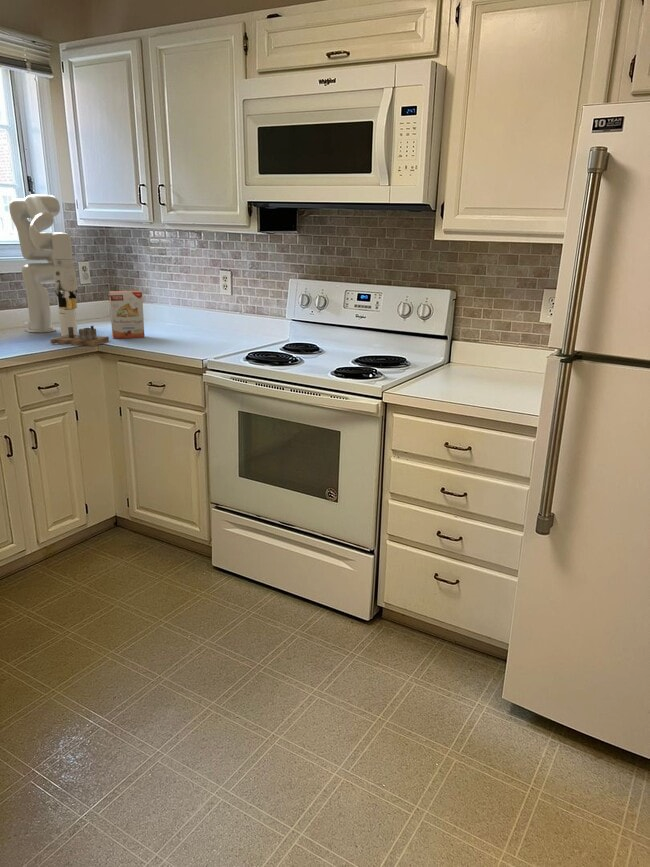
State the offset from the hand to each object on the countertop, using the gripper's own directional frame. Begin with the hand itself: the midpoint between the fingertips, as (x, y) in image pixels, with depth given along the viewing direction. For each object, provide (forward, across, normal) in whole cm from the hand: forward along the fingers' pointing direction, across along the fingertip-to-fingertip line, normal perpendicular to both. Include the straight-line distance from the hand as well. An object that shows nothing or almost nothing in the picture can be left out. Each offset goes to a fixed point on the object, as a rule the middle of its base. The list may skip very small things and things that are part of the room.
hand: (68, 305), depth 277 cm
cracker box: (+16, +19, -17) cm, 30 cm away
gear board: (+16, 0, -4) cm, 16 cm away
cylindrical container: (+16, +14, +10) cm, 23 cm away
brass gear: (+1, 0, 0) cm, 1 cm away
